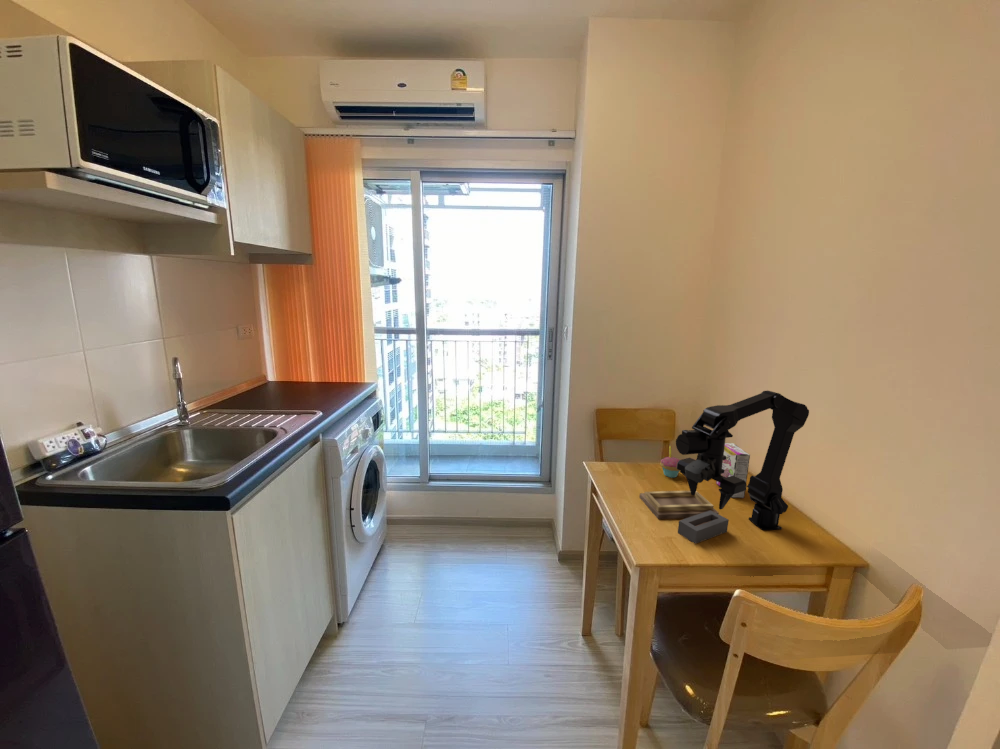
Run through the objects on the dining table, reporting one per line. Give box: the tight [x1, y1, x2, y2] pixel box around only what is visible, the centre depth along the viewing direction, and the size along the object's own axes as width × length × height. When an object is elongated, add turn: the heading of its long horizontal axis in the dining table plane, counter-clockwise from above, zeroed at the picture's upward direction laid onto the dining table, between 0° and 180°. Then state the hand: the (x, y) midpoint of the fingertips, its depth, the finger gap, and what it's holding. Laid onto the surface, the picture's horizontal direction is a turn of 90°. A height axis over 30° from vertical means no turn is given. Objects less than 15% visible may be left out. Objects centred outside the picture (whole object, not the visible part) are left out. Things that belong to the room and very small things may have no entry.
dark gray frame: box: [677, 510, 730, 544], centre depth 122 cm, size 14×6×4 cm, turn 117°
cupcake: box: [659, 445, 680, 478], centre depth 161 cm, size 9×8×12 cm
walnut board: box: [639, 490, 720, 520], centre depth 137 cm, size 20×14×3 cm
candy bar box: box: [715, 442, 751, 499], centre depth 148 cm, size 11×5×16 cm, turn 179°
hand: (706, 501), depth 121 cm, fingers open, 9 cm apart
